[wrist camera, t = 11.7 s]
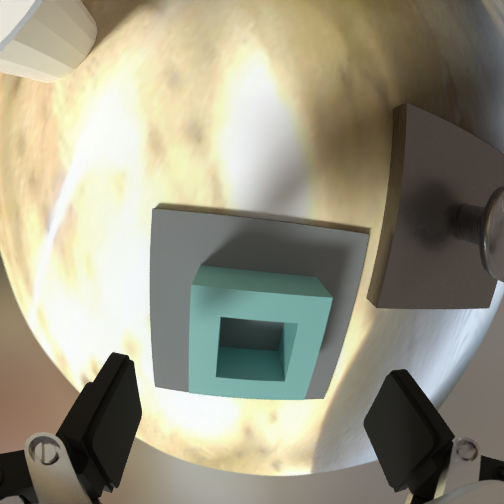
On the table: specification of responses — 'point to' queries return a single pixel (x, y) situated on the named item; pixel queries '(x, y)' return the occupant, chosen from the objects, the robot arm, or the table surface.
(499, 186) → the ring stand
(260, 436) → the table surface
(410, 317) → the table surface
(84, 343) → the table surface
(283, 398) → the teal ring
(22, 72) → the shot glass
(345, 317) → the slate mat
